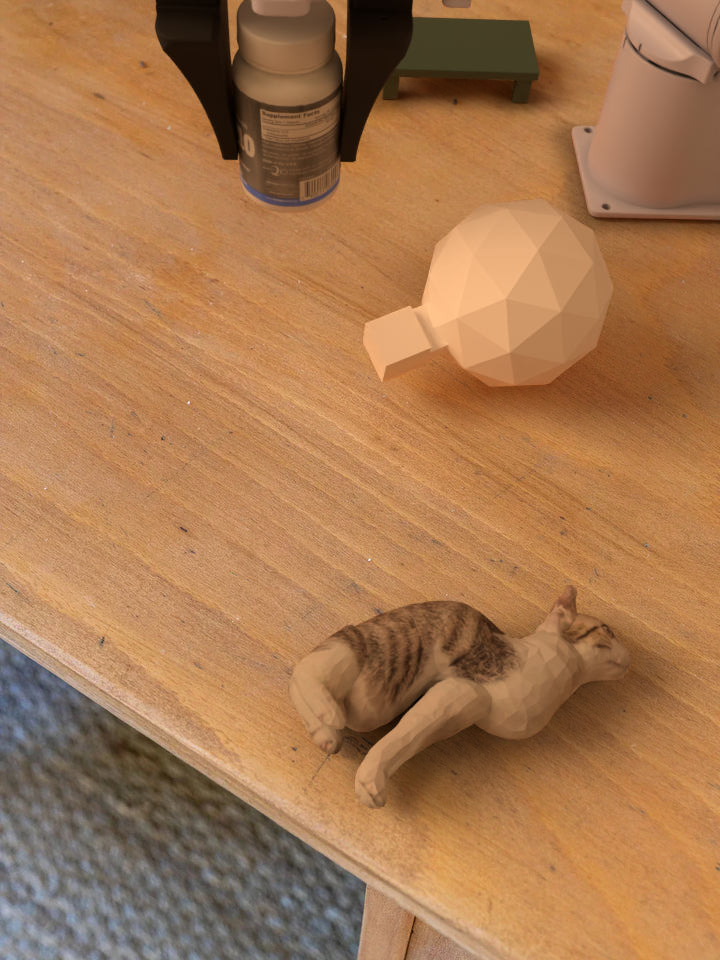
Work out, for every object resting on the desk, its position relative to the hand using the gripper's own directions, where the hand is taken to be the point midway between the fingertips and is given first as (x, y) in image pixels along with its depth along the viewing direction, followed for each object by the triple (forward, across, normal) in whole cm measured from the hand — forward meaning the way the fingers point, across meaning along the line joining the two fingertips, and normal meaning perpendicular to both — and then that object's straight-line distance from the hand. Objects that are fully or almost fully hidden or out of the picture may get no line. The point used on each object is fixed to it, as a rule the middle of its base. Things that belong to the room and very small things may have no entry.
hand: (288, 147), depth 43 cm
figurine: (+7, +4, -30) cm, 31 cm away
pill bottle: (+2, 0, 0) cm, 2 cm away
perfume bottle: (+9, +9, -4) cm, 14 cm away
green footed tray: (+9, +10, +20) cm, 24 cm away
